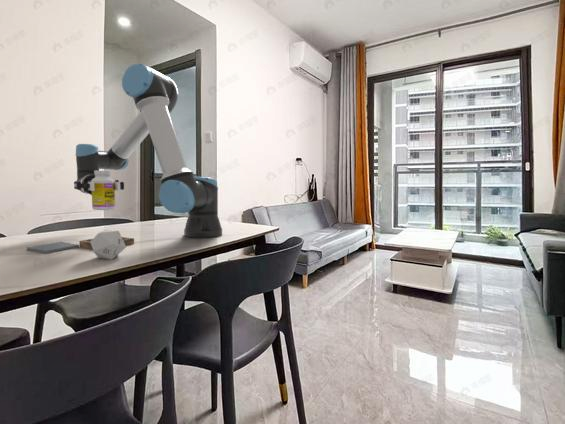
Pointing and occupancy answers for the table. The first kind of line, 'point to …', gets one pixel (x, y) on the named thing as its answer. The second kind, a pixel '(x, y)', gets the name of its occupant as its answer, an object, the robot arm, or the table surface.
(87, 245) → the walnut frame
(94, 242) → the die
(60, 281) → the table surface
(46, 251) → the slate coaster
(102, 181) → the supplement bottle
